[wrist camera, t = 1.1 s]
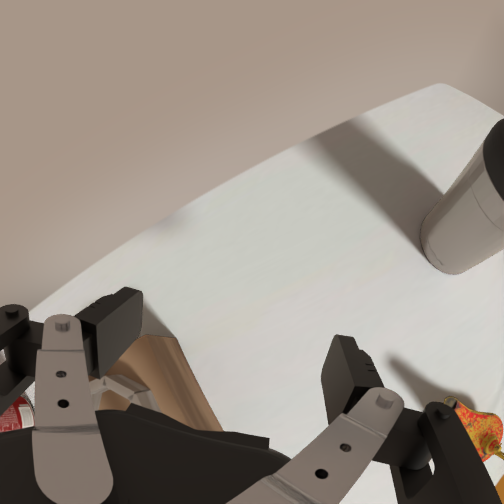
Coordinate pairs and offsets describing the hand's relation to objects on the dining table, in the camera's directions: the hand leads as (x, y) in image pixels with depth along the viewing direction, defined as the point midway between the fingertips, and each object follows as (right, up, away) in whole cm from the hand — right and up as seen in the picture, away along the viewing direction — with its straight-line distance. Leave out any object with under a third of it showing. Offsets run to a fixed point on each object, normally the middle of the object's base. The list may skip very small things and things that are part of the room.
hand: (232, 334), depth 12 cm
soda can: (-38, -25, +23) cm, 51 cm away
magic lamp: (+27, -19, +14) cm, 36 cm away
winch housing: (-13, -18, +21) cm, 31 cm away
